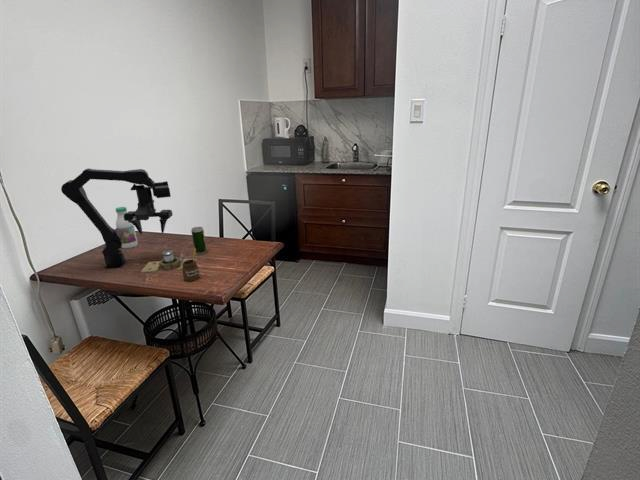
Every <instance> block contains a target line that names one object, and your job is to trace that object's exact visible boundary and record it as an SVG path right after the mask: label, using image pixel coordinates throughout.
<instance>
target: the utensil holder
mask: <svg viewBox="0 0 640 480" xmlns="http://www.w3.org/2000/svg"><path fill="white" fill-rule="evenodd" d="M192 255H193V258H192V259H193V260H185V261H184V262H183V260H184V259H183V256H184V253H181V254H180V255H179V258H180V260H181V261H182V262H183V263H182V262H181V264H182V266H183V268H182V270H181V271H182V276H183V280H185V281H186V282H193V281H196V280H198V279H199V277H200V271H199V266H198V264H197V263H196V261H195V260H194V259H196V258H195V257H196V255H197V254H196V248H195V249H194V248H193V251H192Z"/></svg>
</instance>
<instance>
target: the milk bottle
mask: <svg viewBox="0 0 640 480" xmlns="http://www.w3.org/2000/svg"><path fill="white" fill-rule="evenodd" d="M127 212H128V210H127V207H126V206H119V207H116V208H115V213H116V215H117V216H116V221H115V229H116V228H118V229H119V231H120V233H121V234H123V243H122V246H121V247H122V248H121V249H132V248H135V247H137V246H138V245H139V242H138V238H137V237H138V236H137V234H136V229H135V228H136V227H135V226H134V224H132V223H131V222H128V221H124V214H126V213H127Z"/></svg>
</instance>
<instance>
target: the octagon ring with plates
mask: <svg viewBox="0 0 640 480" xmlns="http://www.w3.org/2000/svg"><path fill="white" fill-rule="evenodd" d="M180 258H181V257H178V256H174V261H175V262H174V263H171V264H165V262H164V258H163V259H161V260H159V261H157V260H156V261H148V262H147V264H146V265H144V267H143V268H142V269H141V271H140V273H141V274H143V273H144V274H145V273H154V272H155V273H156V272H158V270H159V269H161V270H162V271H172V270H176V269H177V268H178V269H177V270H178V271H182V268H183V266H182V263H183V262H184V261H185V260H193V258H184V259H183V260H182V259H180ZM194 260H195V261H196V264H197V262H198V261H199V258H194Z"/></svg>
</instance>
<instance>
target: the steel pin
mask: <svg viewBox="0 0 640 480" xmlns="http://www.w3.org/2000/svg"><path fill="white" fill-rule="evenodd" d="M161 255H162V257H163V259H164V262H165V264H171V263H174V262H175V261H174V257H175V256H174V250H172V249H169V250H168V249H167V250H165V251H162V252H161Z"/></svg>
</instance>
